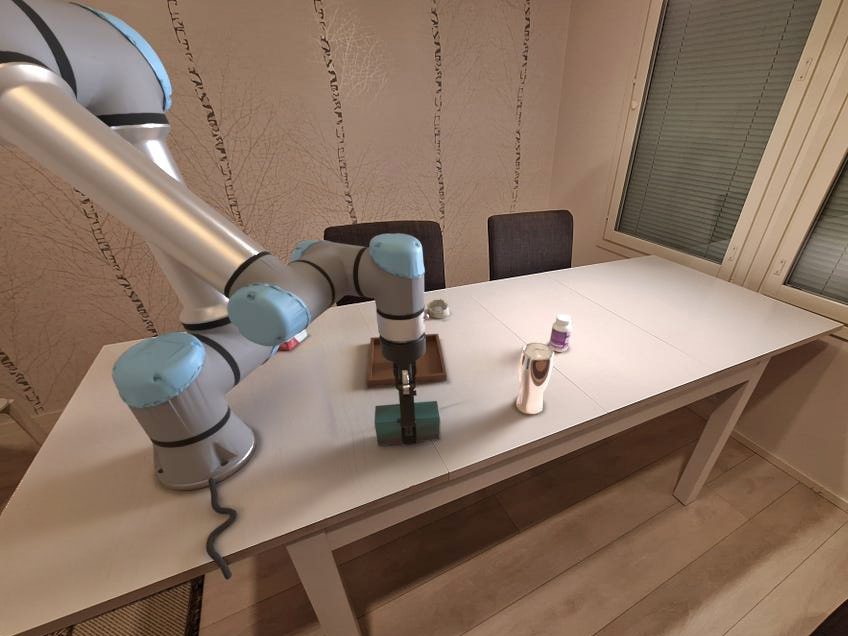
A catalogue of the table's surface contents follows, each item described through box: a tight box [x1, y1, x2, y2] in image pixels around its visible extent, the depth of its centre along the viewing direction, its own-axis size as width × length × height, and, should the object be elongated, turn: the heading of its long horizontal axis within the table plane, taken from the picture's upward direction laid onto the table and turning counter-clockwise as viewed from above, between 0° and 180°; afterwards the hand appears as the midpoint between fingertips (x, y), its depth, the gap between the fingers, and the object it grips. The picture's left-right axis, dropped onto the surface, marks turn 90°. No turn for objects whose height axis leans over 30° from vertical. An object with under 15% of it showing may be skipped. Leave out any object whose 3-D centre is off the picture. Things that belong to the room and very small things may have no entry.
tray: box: [366, 333, 448, 388], centre depth 96 cm, size 20×19×2 cm
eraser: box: [374, 400, 441, 446], centre depth 73 cm, size 5×12×6 cm, turn 101°
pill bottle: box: [548, 314, 573, 353], centre depth 104 cm, size 5×5×10 cm
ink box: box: [278, 328, 308, 352], centre depth 99 cm, size 9×5×12 cm, turn 168°
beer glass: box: [515, 342, 555, 415], centre depth 81 cm, size 7×7×15 cm
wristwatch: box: [426, 298, 451, 319], centre depth 118 cm, size 9×6×5 cm
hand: (408, 432), depth 74 cm, fingers closed on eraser, 5 cm apart
